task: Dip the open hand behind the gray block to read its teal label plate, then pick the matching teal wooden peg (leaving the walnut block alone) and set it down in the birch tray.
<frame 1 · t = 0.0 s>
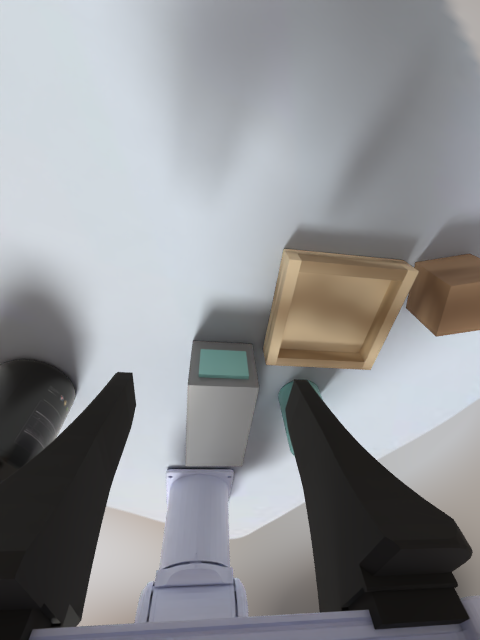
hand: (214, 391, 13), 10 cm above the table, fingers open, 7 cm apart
birch tray: (327, 308, 23), on the table
gray block: (218, 384, 27), on the table
walnut block: (435, 281, 22), on the table
supplement bottle: (38, 383, 26), on the table
teal peg: (298, 394, 28), on the table
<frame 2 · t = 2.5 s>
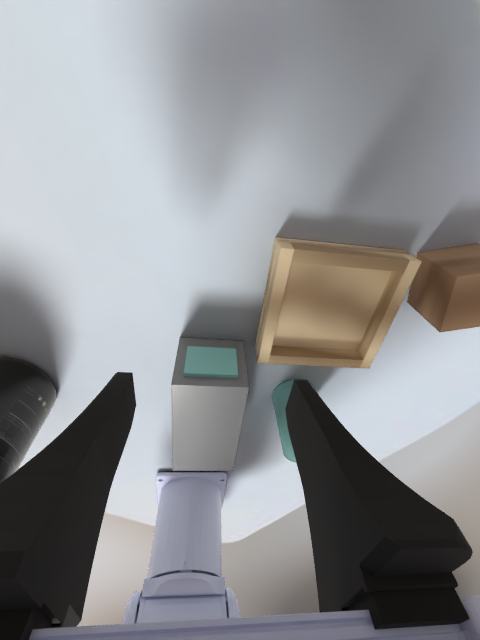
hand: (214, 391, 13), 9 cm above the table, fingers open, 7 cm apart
birch tray: (323, 302, 22), on the table
gray block: (208, 384, 25), on the table
walnut block: (439, 273, 21), on the table
supplement bottle: (17, 383, 24), on the table
teal peg: (293, 394, 27), on the table
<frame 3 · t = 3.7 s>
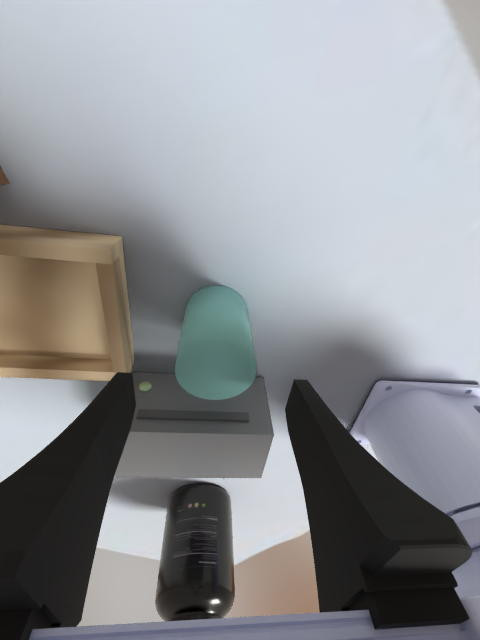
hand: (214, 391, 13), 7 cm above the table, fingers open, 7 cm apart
birch tray: (52, 302, 18), on the table
gray block: (196, 397, 23), on the table
supplement bottle: (200, 495, 32), on the table
teal peg: (216, 313, 19), on the table
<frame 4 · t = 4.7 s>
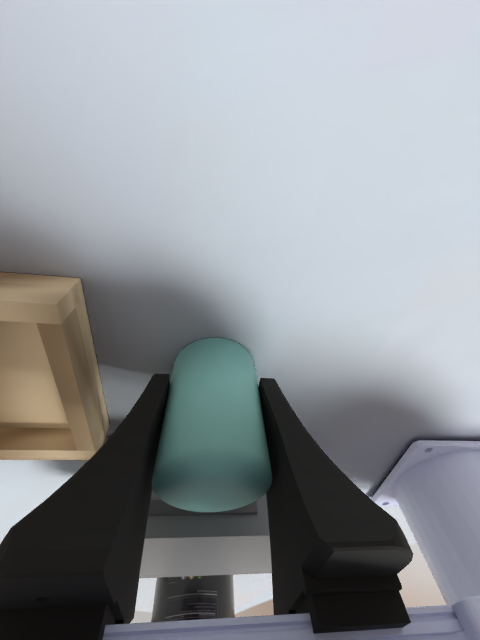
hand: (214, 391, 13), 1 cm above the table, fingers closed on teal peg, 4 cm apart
gray block: (190, 461, 18), on the table
supplement bottle: (196, 554, 27), on the table
teal peg: (214, 370, 14), on the table, touching gripper
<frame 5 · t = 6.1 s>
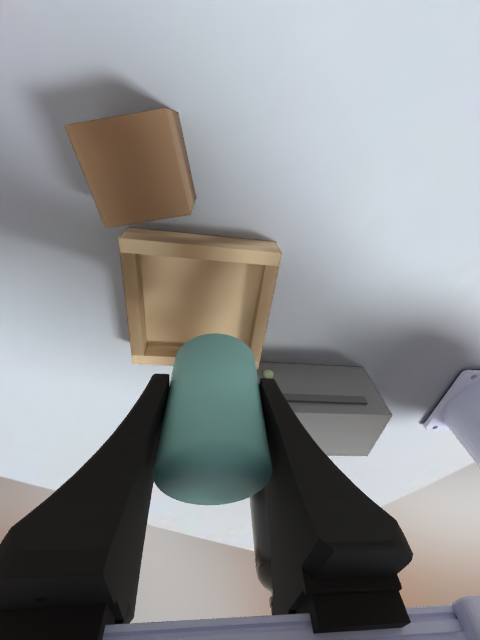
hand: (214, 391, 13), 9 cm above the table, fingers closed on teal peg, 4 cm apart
birch tray: (201, 299, 20), on the table
gray block: (299, 385, 25), on the table
walnut block: (151, 164, 16), on the table
supplement bottle: (277, 479, 34), on the table
teal peg: (215, 365, 14), point 7 cm above the table, touching gripper
when the fingers open (3 cm above the table, at t = 7.6 s): teal peg stays where it is, resting on birch tray.
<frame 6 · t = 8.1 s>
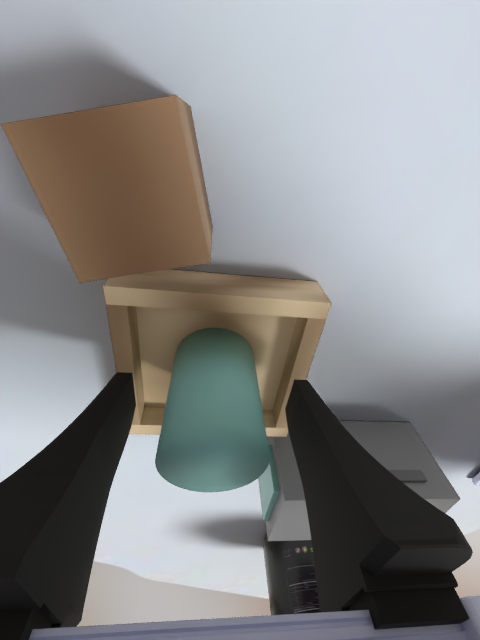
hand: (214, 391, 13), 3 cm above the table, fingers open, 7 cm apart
birch tray: (214, 350, 15), on the table
gray block: (331, 442, 21), on the table
walnut block: (150, 180, 11), on the table
supplement bottle: (295, 533, 30), on the table
teal peg: (214, 359, 15), point 1 cm above the table, touching birch tray
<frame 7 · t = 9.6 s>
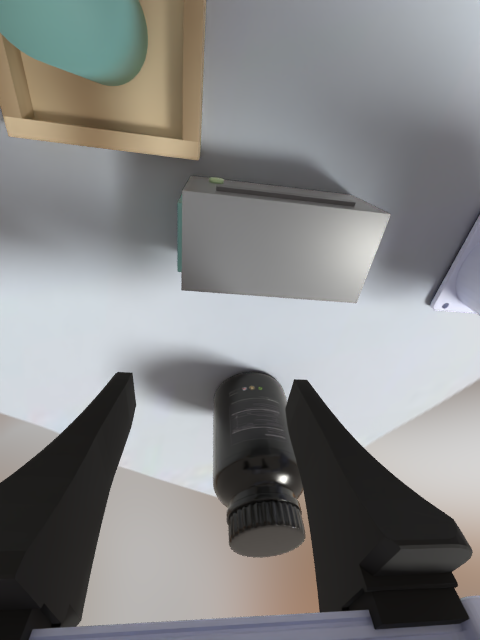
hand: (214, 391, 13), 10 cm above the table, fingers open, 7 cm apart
birch tray: (107, 35, 14), on the table
gray block: (266, 226, 19), on the table
supplement bottle: (249, 393, 28), on the table
teal peg: (101, 28, 13), point 1 cm above the table, touching birch tray
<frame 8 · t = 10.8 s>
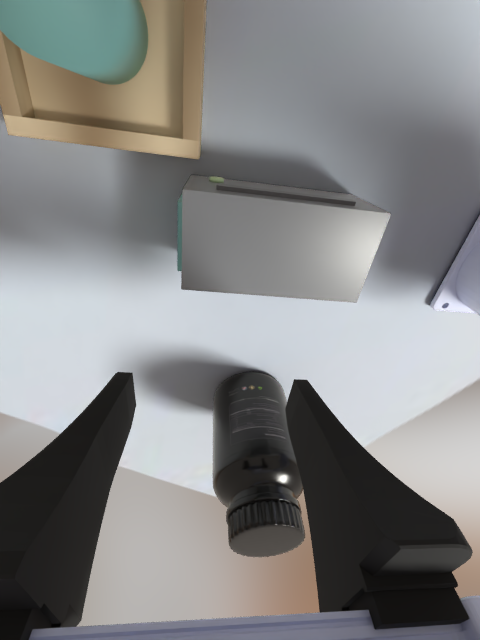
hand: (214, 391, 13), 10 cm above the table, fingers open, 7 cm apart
birch tray: (108, 34, 14), on the table
gray block: (267, 226, 19), on the table
supplement bottle: (248, 393, 28), on the table
teal peg: (102, 27, 13), point 1 cm above the table, touching birch tray
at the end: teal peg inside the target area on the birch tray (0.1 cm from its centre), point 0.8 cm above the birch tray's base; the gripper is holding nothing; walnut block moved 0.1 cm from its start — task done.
